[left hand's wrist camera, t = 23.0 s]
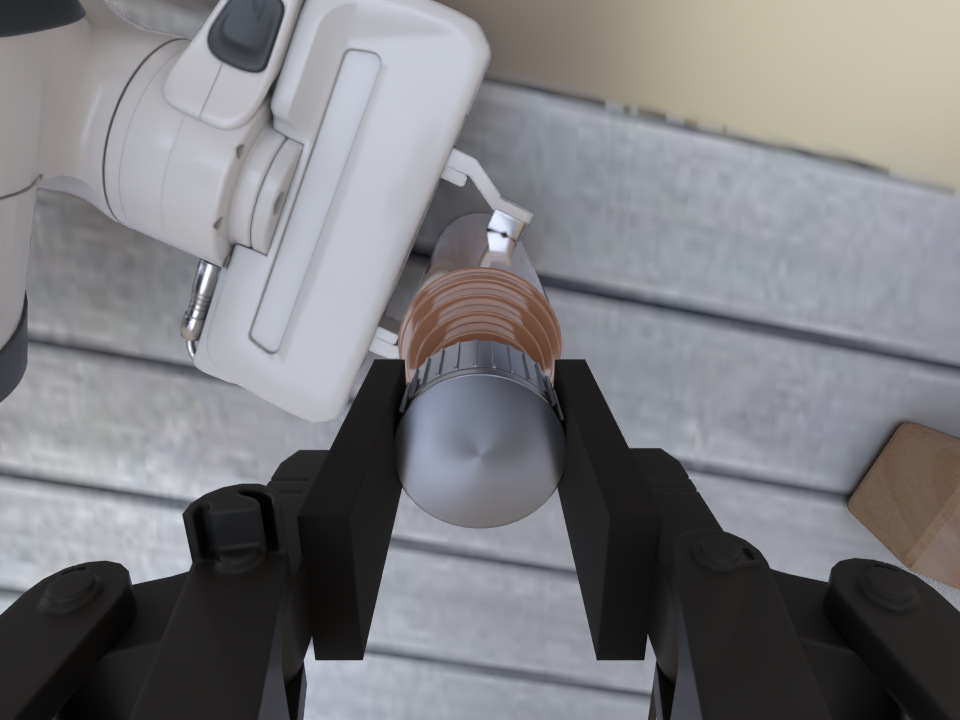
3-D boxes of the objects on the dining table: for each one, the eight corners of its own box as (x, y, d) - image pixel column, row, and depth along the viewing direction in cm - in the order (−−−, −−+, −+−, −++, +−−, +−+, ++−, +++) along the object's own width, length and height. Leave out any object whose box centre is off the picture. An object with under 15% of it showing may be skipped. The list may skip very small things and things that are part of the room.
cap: (423, 490, 15) (414, 544, 13) (384, 355, 14) (367, 391, 12) (568, 463, 15) (583, 514, 13) (542, 322, 14) (553, 353, 12)
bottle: (454, 315, 36) (415, 561, 15) (420, 231, 34) (321, 372, 13) (536, 285, 35) (625, 497, 14) (507, 198, 34) (556, 287, 12)
